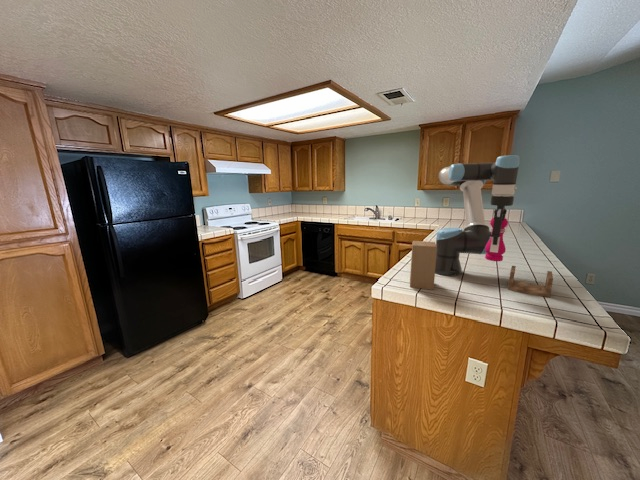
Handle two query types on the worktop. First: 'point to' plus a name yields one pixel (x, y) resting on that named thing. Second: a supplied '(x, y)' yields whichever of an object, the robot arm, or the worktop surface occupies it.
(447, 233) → the robot arm
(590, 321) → the worktop surface
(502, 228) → the pepper mill
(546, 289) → the holder
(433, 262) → the wooden block
